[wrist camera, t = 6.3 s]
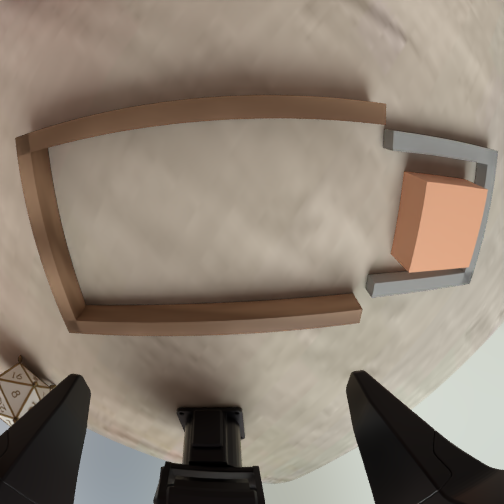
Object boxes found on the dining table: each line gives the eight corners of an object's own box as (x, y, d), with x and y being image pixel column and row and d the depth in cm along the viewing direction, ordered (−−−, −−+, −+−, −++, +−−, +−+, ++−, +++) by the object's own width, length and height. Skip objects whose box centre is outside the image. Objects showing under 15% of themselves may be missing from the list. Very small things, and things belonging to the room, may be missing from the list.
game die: (34, 350, 27) (-30, 372, 19) (47, 343, 23) (-35, 371, 14) (64, 416, 26) (4, 444, 18) (86, 425, 22) (10, 461, 14)
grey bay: (462, 276, 21) (469, 283, 20) (365, 288, 21) (371, 297, 20) (487, 148, 16) (497, 151, 15) (384, 129, 16) (393, 130, 15)
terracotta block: (447, 249, 20) (468, 267, 18) (389, 252, 20) (408, 272, 17) (462, 178, 18) (487, 189, 15) (401, 170, 17) (427, 181, 15)
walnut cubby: (350, 306, 21) (359, 322, 20) (78, 316, 20) (69, 332, 19) (370, 103, 15) (386, 103, 13) (32, 133, 14) (15, 138, 12)
